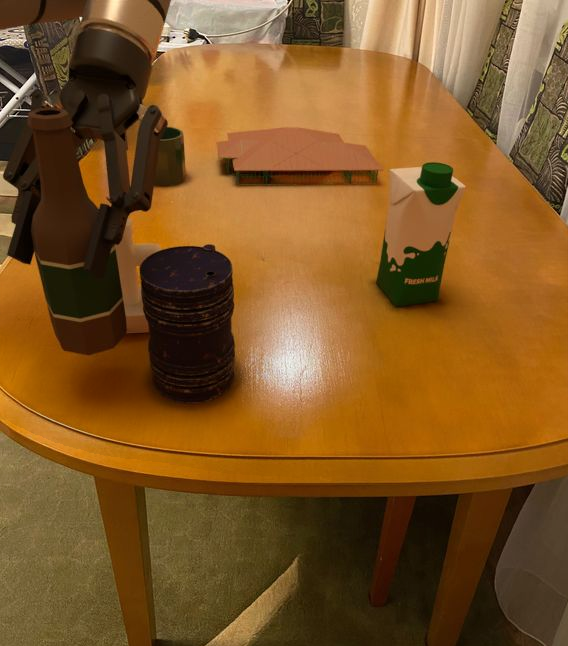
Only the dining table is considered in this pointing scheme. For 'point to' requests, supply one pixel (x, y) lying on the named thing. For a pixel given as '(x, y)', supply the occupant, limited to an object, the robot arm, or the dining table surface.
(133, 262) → the figurine
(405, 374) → the dining table surface
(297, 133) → the house
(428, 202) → the milk carton
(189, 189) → the dining table surface
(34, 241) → the beer bottle
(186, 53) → the dining table surface
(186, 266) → the dark oil barrel
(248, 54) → the dining table surface
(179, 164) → the green mug
